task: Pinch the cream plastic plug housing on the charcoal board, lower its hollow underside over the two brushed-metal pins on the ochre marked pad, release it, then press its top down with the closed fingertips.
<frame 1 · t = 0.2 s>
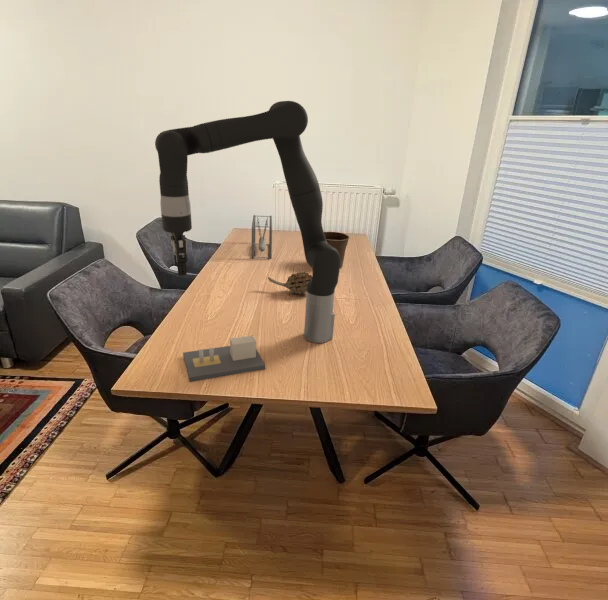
hand: (180, 270, 115), 28 cm above the table, fingers open, 8 cm apart
plug housing: (243, 355, 126), point 1 cm above the table, touching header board
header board: (223, 362, 124), on the table
pine cone: (290, 293, 178), on the table
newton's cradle: (261, 251, 231), on the table
plant pot: (331, 266, 215), on the table
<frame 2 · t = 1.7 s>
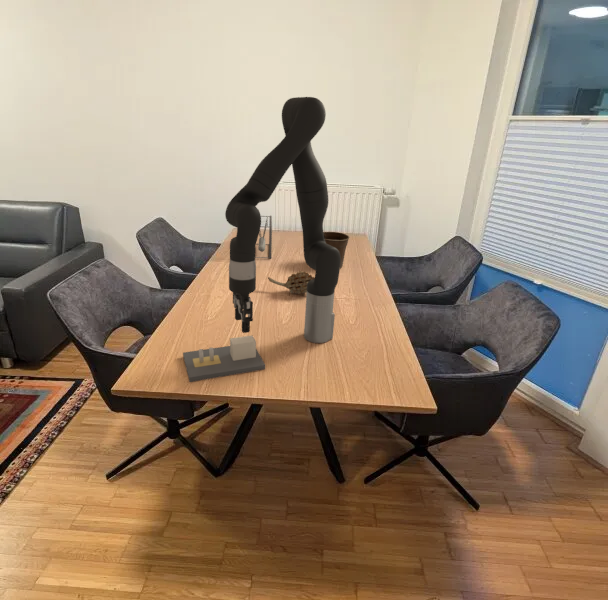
hand: (242, 325, 122), 12 cm above the table, fingers open, 8 cm apart
nothing on the table moved.
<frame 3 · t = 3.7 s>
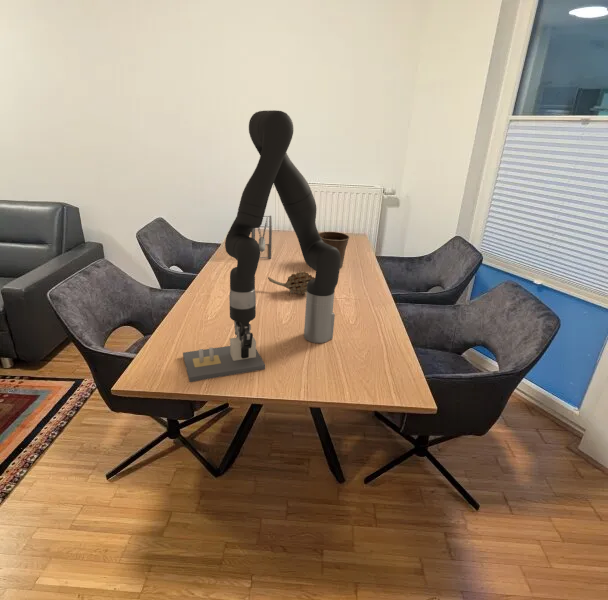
hand: (243, 353, 126), 2 cm above the table, fingers closed on plug housing, 4 cm apart
plug housing: (243, 355, 126), point 1 cm above the table, touching gripper, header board
everything else where it was.
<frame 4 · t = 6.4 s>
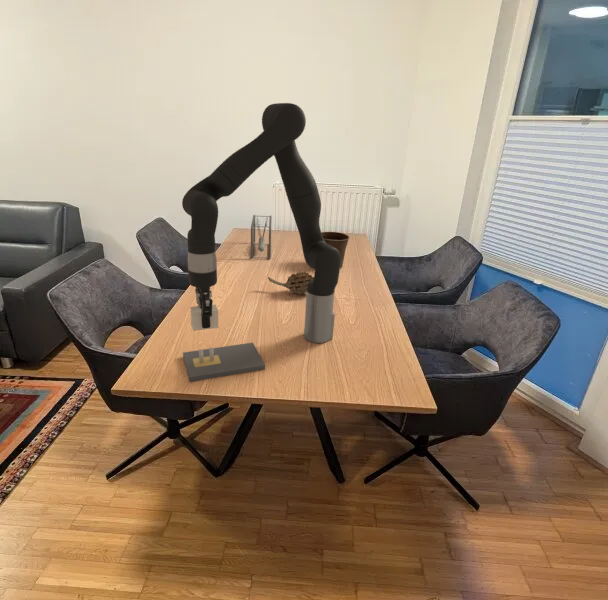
hand: (204, 323, 117), 14 cm above the table, fingers closed on plug housing, 4 cm apart
plug housing: (204, 326, 117), point 13 cm above the table, touching gripper
everything else where it was.
when the fingers open (3 cm above the table, at t = 9.1 s): plug housing stays where it is, resting on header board.
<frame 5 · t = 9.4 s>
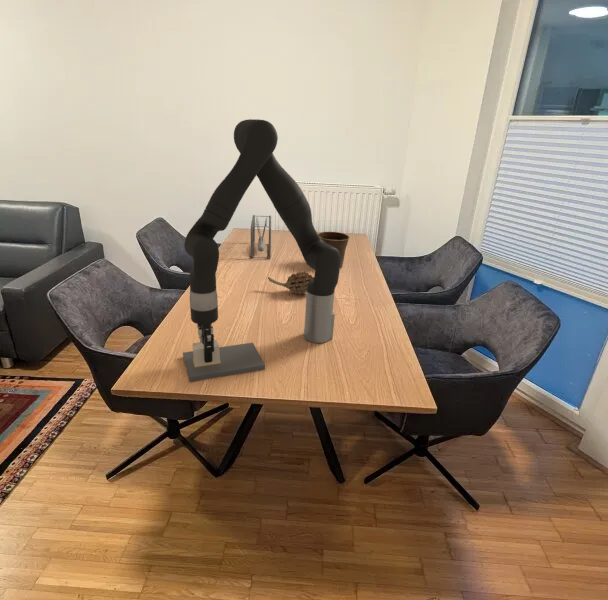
hand: (206, 355, 121), 3 cm above the table, fingers open, 6 cm apart
plug housing: (206, 361, 122), point 2 cm above the table, touching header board
everything else where it was.
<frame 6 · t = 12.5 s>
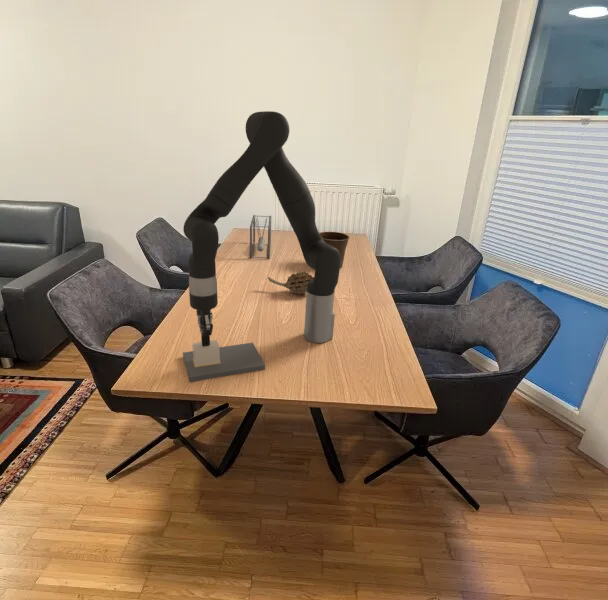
hand: (205, 344, 120), 7 cm above the table, fingers closed
plug housing: (206, 361, 122), point 2 cm above the table, touching gripper, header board
everything else where it was.
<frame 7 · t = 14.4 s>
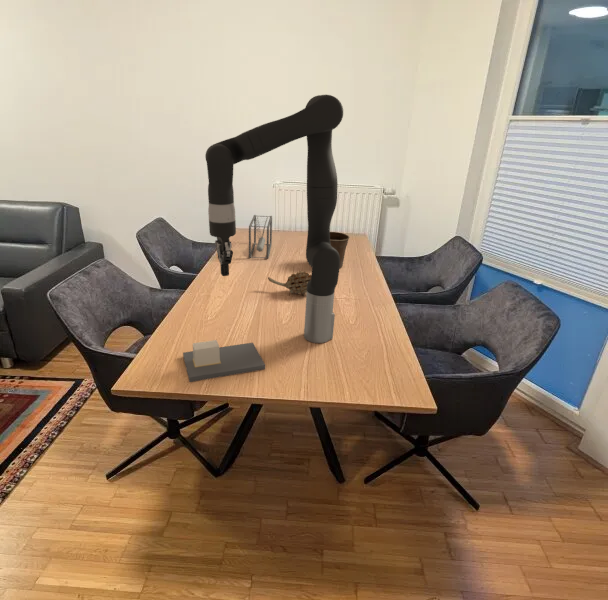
hand: (225, 275, 125), 24 cm above the table, fingers closed
plug housing: (206, 361, 122), point 2 cm above the table, touching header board
everything else where it was.
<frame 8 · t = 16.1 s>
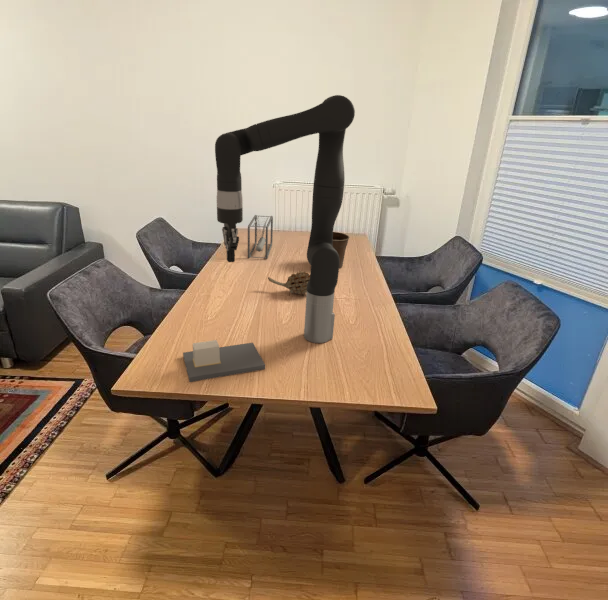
hand: (230, 261, 128), 27 cm above the table, fingers closed
at the end: plug housing 0.0 cm from the target spot on the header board, point 1.6 cm above the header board's base; plug housing tilted 0°; the gripper is holding nothing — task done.
